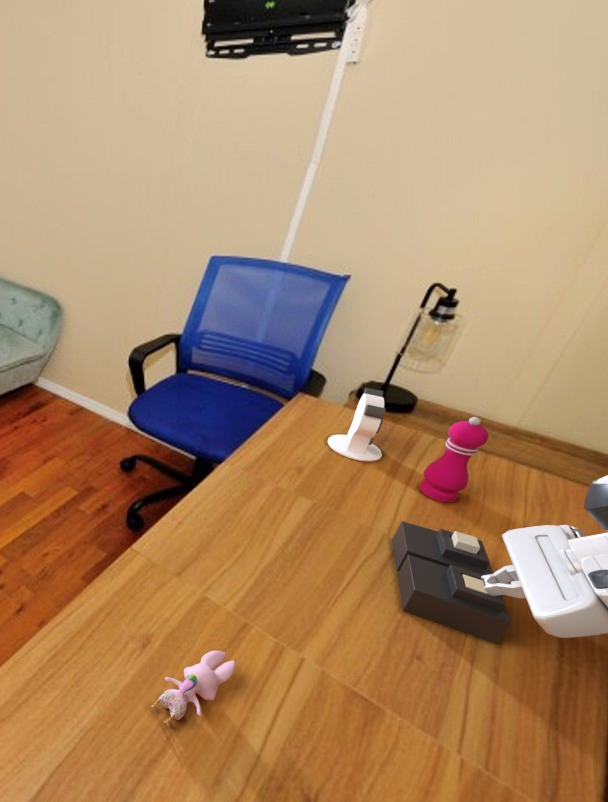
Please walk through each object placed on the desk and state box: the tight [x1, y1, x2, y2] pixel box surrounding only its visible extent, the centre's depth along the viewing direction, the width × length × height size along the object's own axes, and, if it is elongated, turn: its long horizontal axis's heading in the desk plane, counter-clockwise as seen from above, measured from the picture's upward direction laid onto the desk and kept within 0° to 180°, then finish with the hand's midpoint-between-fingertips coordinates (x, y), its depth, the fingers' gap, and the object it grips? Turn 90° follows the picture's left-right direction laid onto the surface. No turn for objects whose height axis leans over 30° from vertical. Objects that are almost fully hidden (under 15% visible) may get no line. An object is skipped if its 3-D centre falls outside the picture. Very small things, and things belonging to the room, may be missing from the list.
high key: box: [462, 574, 489, 595], centre depth 84 cm, size 3×3×2 cm
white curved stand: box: [327, 387, 387, 463], centre depth 125 cm, size 12×11×15 cm
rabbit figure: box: [150, 650, 236, 728], centre depth 74 cm, size 6×6×15 cm
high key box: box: [397, 555, 512, 645], centre depth 86 cm, size 12×9×7 cm
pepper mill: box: [419, 416, 489, 503], centre depth 109 cm, size 7×7×20 cm
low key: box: [451, 530, 480, 554], centre depth 90 cm, size 3×3×2 cm
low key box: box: [391, 520, 494, 575], centre depth 93 cm, size 12×9×7 cm
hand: (484, 586), depth 82 cm, fingers closed, pressing on high key, high key box
